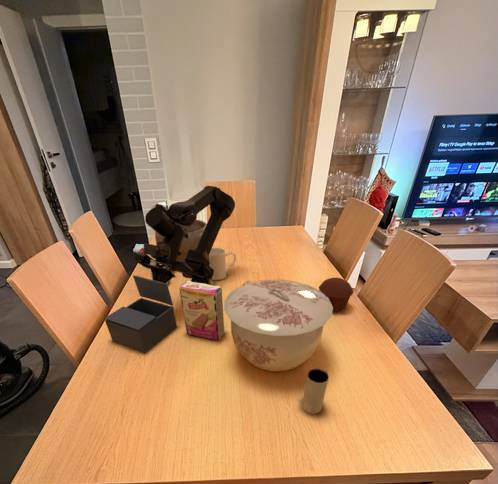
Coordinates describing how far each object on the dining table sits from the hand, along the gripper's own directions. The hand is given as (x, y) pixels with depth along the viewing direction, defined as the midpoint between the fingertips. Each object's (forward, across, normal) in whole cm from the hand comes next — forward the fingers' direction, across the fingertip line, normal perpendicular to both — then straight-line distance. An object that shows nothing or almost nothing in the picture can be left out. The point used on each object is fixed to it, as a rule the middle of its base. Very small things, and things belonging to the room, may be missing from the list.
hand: (154, 291), depth 92 cm
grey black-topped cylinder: (+17, +56, -1) cm, 59 cm away
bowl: (-26, -24, +41) cm, 54 cm away
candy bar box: (+7, +17, +9) cm, 21 cm away
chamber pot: (+7, +40, +9) cm, 42 cm away
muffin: (-17, +48, +33) cm, 61 cm away
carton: (+13, 0, +3) cm, 14 cm away
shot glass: (-8, -18, +24) cm, 31 cm away
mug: (-20, 0, +36) cm, 41 cm away
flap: (0, 0, -1) cm, 1 cm away
